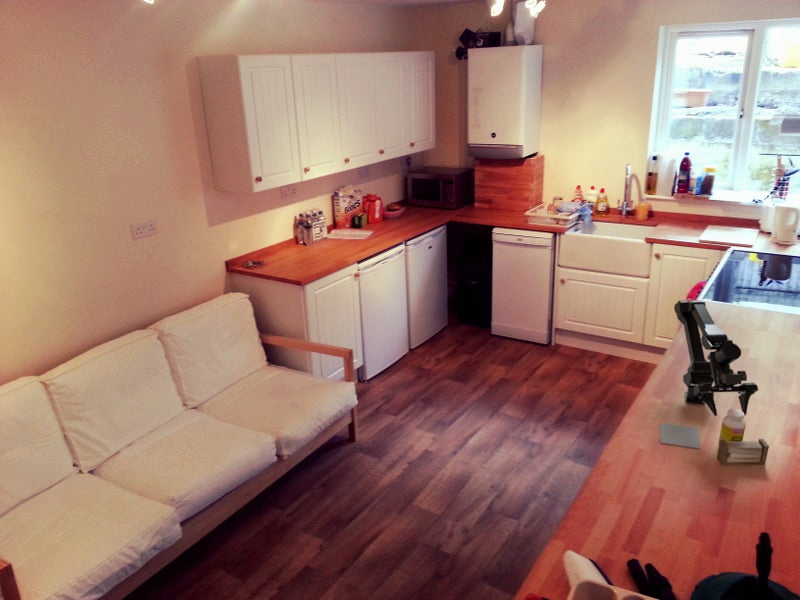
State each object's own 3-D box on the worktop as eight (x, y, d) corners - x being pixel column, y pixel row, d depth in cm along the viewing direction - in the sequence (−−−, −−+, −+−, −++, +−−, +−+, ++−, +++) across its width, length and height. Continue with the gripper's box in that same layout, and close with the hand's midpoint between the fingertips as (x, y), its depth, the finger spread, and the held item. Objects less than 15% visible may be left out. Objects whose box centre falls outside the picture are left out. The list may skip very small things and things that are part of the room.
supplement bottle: (728, 454, 208) (734, 420, 204) (713, 442, 214) (719, 409, 209) (745, 450, 210) (752, 416, 205) (730, 438, 216) (737, 405, 211)
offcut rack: (716, 458, 207) (719, 439, 204) (759, 457, 206) (763, 438, 204) (721, 465, 203) (725, 446, 201) (765, 464, 203) (769, 446, 200)
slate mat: (660, 423, 226) (660, 422, 225) (698, 429, 222) (698, 428, 222) (660, 443, 215) (660, 442, 215) (700, 449, 211) (700, 448, 211)
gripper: (701, 362, 210) (710, 410, 204) (760, 360, 209) (771, 409, 203) (688, 372, 220) (697, 418, 214) (745, 370, 219) (755, 416, 214)
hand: (730, 415), depth 211 cm, fingers open, 9 cm apart
